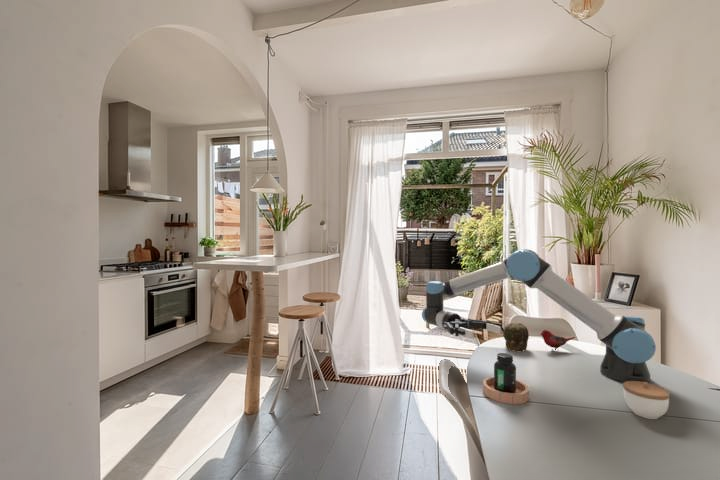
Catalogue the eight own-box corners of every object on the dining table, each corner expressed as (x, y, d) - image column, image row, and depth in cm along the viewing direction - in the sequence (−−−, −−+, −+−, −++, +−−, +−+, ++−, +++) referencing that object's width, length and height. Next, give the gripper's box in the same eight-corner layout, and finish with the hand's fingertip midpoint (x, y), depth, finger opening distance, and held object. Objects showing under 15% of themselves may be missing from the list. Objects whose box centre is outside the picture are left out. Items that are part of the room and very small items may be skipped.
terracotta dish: (536, 395, 114) (536, 386, 114) (515, 408, 105) (515, 398, 105) (496, 381, 125) (496, 373, 125) (475, 392, 116) (475, 383, 116)
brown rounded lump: (529, 347, 165) (530, 322, 165) (527, 353, 155) (527, 327, 155) (505, 343, 170) (505, 319, 170) (501, 349, 161) (501, 324, 161)
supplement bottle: (502, 396, 111) (502, 359, 111) (489, 387, 118) (489, 352, 118) (520, 394, 112) (520, 357, 113) (507, 385, 119) (507, 351, 119)
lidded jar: (679, 425, 96) (679, 392, 96) (635, 421, 98) (635, 388, 98) (654, 407, 106) (654, 377, 106) (615, 403, 108) (615, 374, 108)
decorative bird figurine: (538, 350, 160) (538, 329, 160) (573, 349, 162) (573, 328, 162) (542, 352, 157) (542, 330, 157) (577, 351, 159) (577, 329, 159)
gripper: (471, 326, 151) (511, 338, 131) (424, 333, 140) (460, 347, 121) (471, 309, 151) (510, 318, 131) (424, 315, 140) (459, 326, 121)
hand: (486, 332), depth 126 cm, fingers open, 13 cm apart
